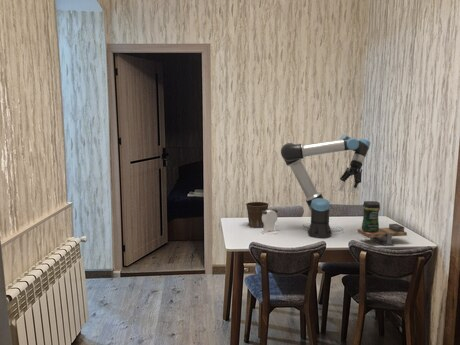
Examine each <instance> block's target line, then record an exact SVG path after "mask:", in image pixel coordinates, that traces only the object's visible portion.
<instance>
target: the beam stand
mask: <svg viewBox="0 0 460 345" xmlns="http://www.w3.org/2000/svg"><path fill="white" fill-rule="evenodd" d="M369 239H370V240H372V241H374V242H376V243H378V244H379V245H382V246H383V247H389V246H390V247H391V246H392V247H394V246H395V245H394V243H393V242H392V241H393V236H392V233H387V234H386V237H375V238H369Z"/></svg>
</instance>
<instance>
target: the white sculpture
mask: <svg viewBox="0 0 460 345" xmlns="http://www.w3.org/2000/svg"><path fill="white" fill-rule="evenodd" d="M278 211H279V210H277V209H276V208H275V209H274V208H272V210H270V209H268V210H266V211H262V213H263V214H262V222H263V226H264V227H263V229H262V230H260V233H261V234H265V235H276V234H278V230H276V229H275V224H276V223H277V221H278V213H279V212H278Z"/></svg>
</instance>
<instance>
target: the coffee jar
mask: <svg viewBox="0 0 460 345" xmlns="http://www.w3.org/2000/svg"><path fill="white" fill-rule="evenodd" d="M362 209H363V219H362V222H361V223H362V224H361V229H362V230H363V231H366V232H378V231H379V228H380V227H379V226H380V224H379V214H380V210H381V204H380V202H379V201H377V200H376V201H374V200H372V201H371V200H370V201H369V200H368V201H367V200H365V201H363V205H362Z"/></svg>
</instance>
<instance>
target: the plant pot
mask: <svg viewBox="0 0 460 345" xmlns="http://www.w3.org/2000/svg"><path fill="white" fill-rule="evenodd" d="M245 207H246V212H247V219H248V226H249V227H250V228H253V229H260V228H261V229H262V228H264V226H263V222H262V214H263V213H262V211H266V210H269V209H268V207H269V203H268V202H263V201H250V202H247V203H245Z"/></svg>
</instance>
